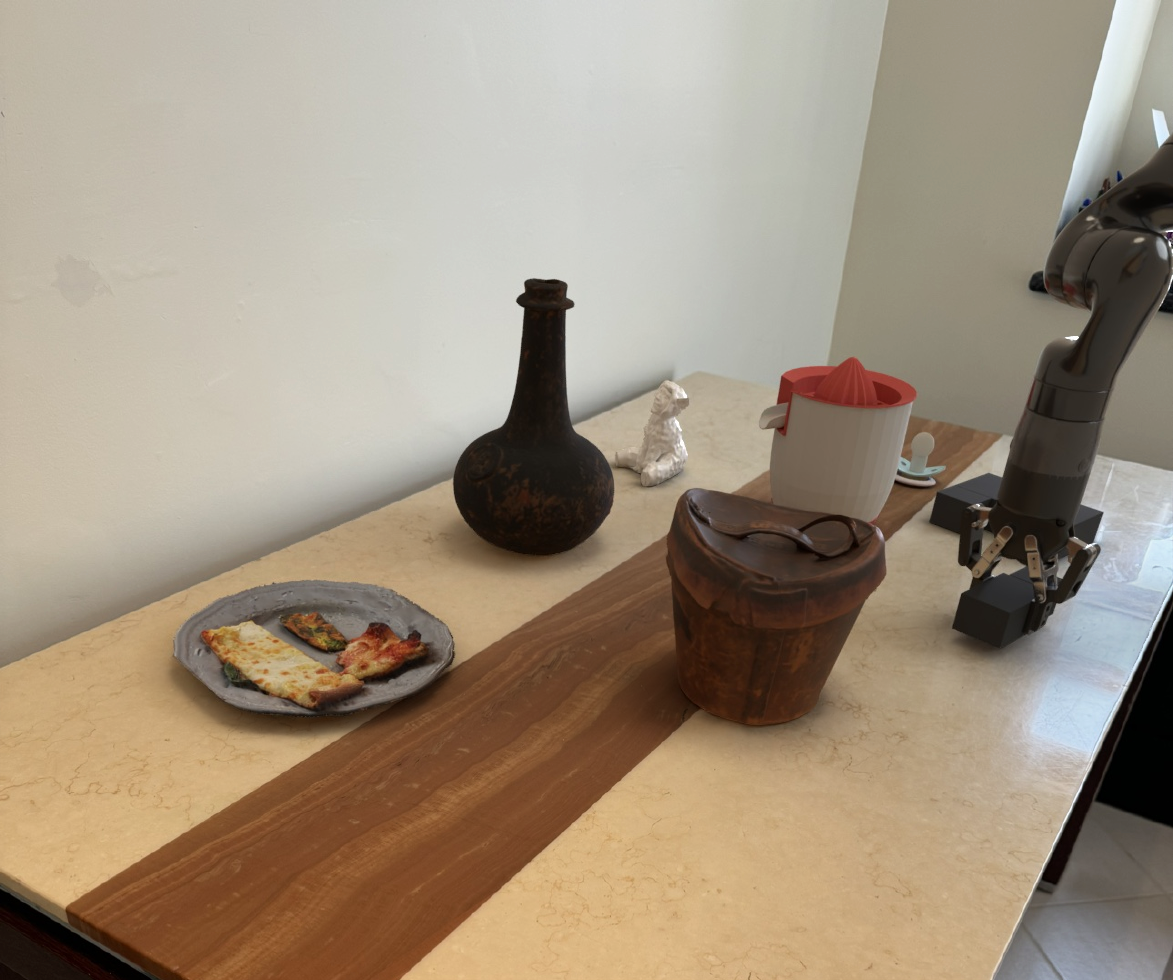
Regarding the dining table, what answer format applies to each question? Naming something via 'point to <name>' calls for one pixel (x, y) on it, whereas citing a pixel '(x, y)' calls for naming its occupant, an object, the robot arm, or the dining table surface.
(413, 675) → the food plate
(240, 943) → the dining table surface
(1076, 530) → the socket pad
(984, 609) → the pad
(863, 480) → the citrus juicer
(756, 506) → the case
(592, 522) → the glass bottle
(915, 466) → the pacifier
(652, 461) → the seated beast figurine
